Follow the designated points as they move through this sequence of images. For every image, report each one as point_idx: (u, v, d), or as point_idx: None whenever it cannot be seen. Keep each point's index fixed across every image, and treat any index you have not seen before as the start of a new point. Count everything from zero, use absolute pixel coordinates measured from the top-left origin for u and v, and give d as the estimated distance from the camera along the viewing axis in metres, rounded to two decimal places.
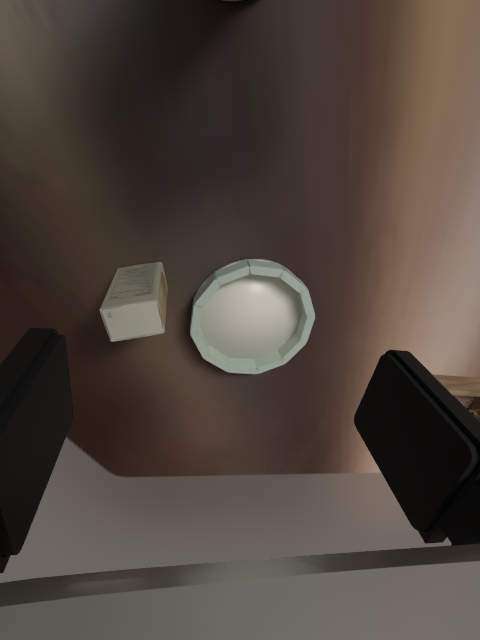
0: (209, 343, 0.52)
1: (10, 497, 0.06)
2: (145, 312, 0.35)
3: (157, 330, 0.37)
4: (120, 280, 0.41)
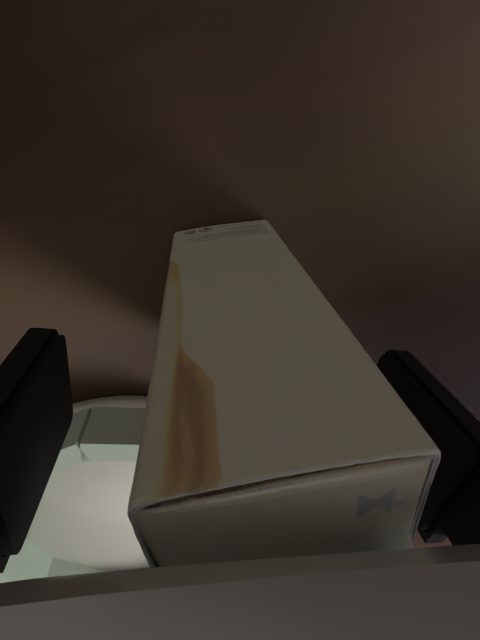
0: None
1: (10, 497, 0.06)
2: None
3: None
4: None
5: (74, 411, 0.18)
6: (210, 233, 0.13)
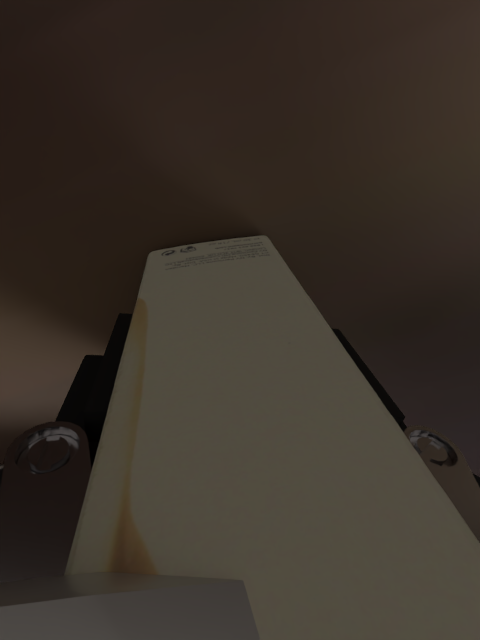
0: None
1: None
2: None
3: None
4: None
5: None
6: (194, 255, 0.10)
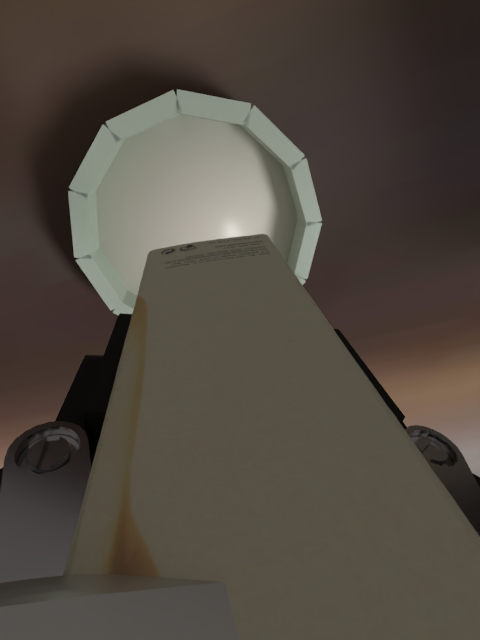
0: (130, 141, 0.23)
1: None
2: None
3: None
4: None
5: None
6: (194, 253, 0.10)
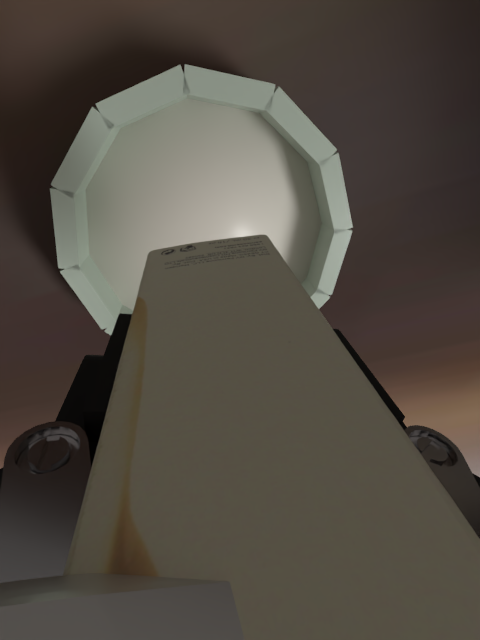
0: (127, 130, 0.19)
1: None
2: None
3: None
4: None
5: None
6: (194, 254, 0.10)
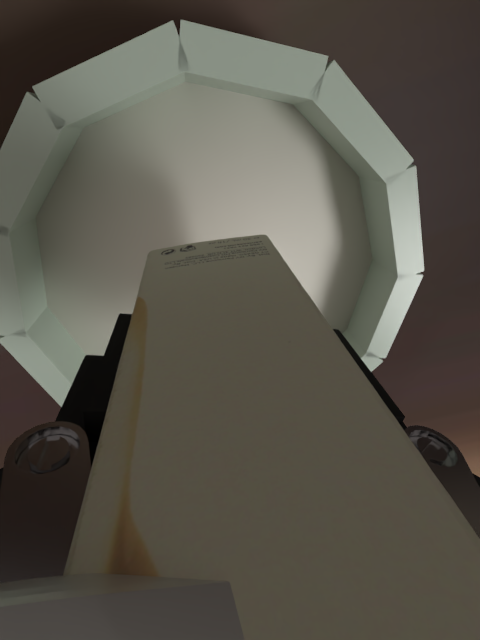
0: (93, 130, 0.13)
1: None
2: None
3: None
4: None
5: None
6: (194, 254, 0.10)
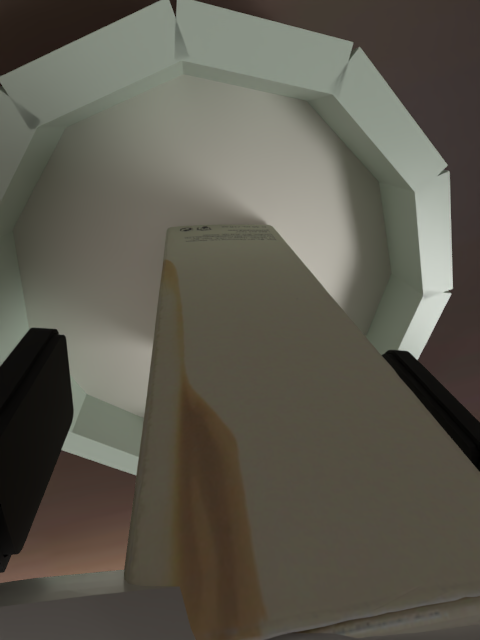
0: (77, 131, 0.11)
1: (11, 496, 0.06)
2: None
3: None
4: None
5: None
6: (210, 233, 0.12)
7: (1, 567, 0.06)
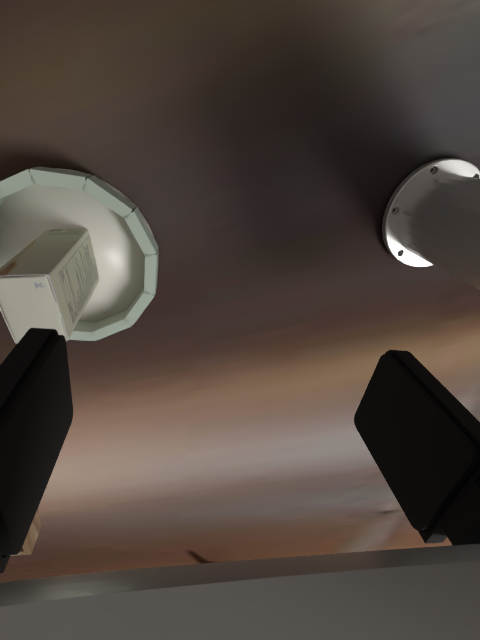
0: (10, 198, 0.33)
1: (10, 497, 0.06)
2: (47, 326, 0.27)
3: (18, 336, 0.27)
4: (78, 255, 0.31)
5: None
6: (58, 232, 0.33)
7: (0, 568, 0.06)
